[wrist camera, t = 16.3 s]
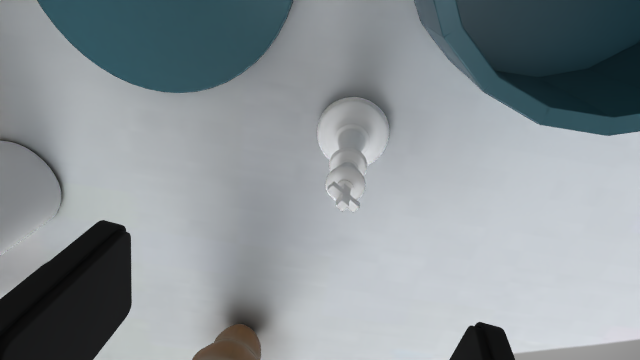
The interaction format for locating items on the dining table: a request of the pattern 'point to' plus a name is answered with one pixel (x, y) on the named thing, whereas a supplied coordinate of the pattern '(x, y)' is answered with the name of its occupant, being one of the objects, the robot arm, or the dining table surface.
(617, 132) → the tin
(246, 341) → the cat ice cream
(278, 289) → the dining table surface
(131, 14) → the tin lid
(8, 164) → the milk bottle
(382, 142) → the chess piece
